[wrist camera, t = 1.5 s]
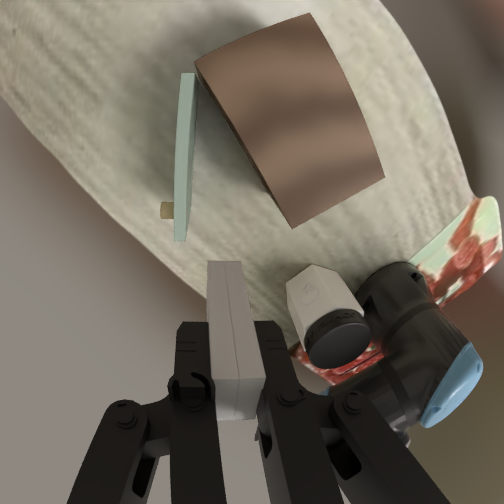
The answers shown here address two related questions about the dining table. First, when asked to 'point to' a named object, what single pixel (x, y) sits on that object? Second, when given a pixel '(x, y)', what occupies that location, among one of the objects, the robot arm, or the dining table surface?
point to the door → (183, 157)
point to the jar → (327, 317)
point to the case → (293, 116)
